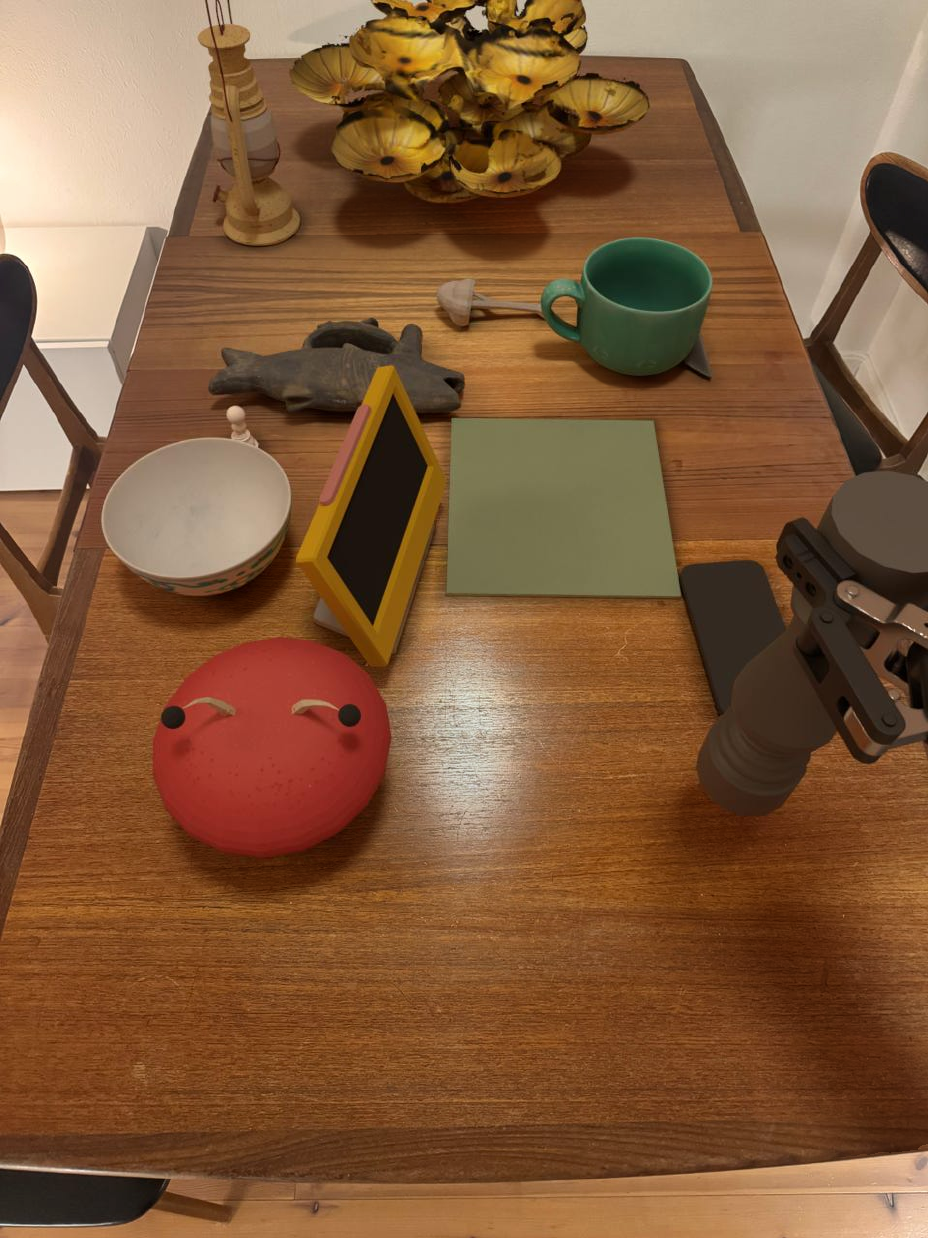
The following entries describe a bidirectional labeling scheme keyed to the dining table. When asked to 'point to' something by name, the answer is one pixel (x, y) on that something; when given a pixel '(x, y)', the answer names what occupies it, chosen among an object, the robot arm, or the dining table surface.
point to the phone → (730, 618)
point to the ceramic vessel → (341, 370)
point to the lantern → (245, 141)
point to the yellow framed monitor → (374, 522)
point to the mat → (558, 510)
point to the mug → (635, 304)
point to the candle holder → (774, 680)
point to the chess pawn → (239, 426)
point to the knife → (698, 358)
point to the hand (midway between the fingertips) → (844, 511)
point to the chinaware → (199, 515)
